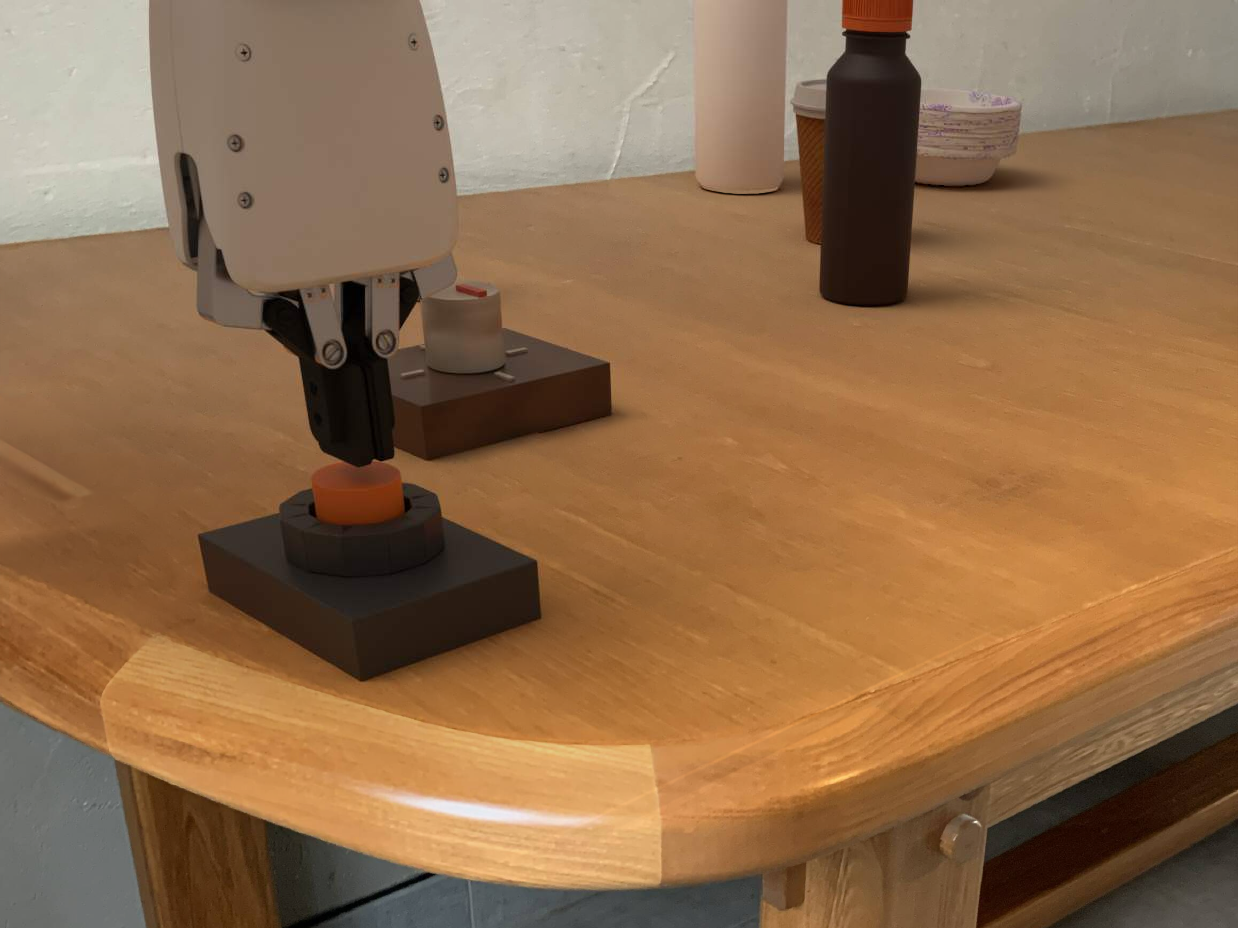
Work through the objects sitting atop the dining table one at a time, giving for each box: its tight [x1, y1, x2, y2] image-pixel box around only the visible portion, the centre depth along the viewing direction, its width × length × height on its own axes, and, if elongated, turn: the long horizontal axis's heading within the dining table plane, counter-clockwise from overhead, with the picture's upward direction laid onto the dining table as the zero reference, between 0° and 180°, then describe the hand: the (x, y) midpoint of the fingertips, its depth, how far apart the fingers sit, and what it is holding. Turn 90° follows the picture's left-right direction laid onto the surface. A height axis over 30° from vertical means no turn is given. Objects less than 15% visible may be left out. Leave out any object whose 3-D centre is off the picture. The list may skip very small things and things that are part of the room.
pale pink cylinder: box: [693, 0, 788, 191], centre depth 143 cm, size 9×9×30 cm
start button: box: [310, 460, 405, 525], centre depth 63 cm, size 4×4×2 cm
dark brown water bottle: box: [818, 0, 922, 306], centre depth 110 cm, size 7×7×20 cm
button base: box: [197, 482, 542, 683], centre depth 65 cm, size 9×12×4 cm
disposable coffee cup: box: [789, 78, 827, 245], centre depth 129 cm, size 10×10×12 cm
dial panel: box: [387, 327, 613, 462], centre depth 87 cm, size 13×10×3 cm
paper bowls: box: [915, 87, 1023, 187], centre depth 157 cm, size 15×15×8 cm
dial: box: [419, 280, 505, 374], centre depth 85 cm, size 4×4×4 cm
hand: (357, 454), depth 62 cm, fingers closed
